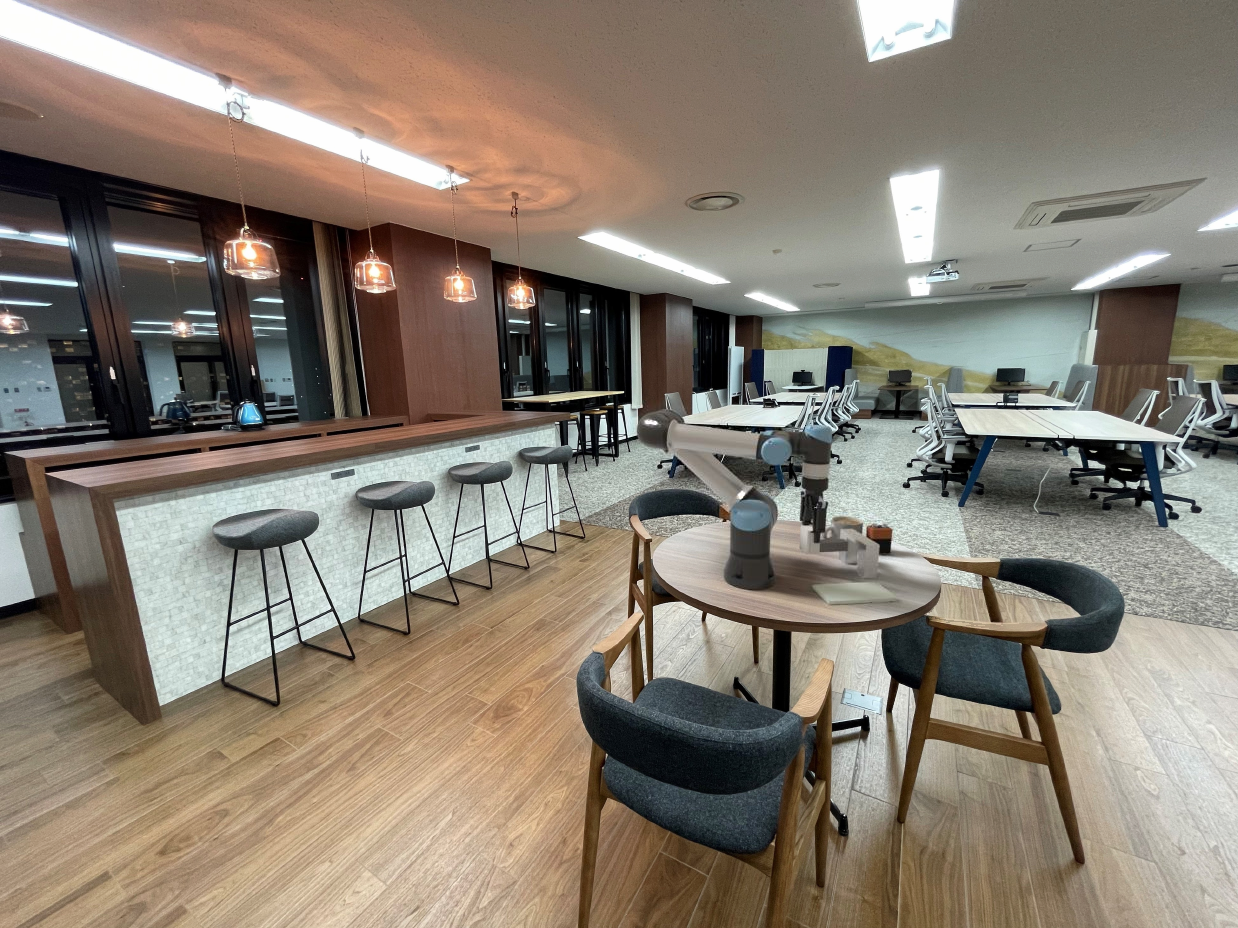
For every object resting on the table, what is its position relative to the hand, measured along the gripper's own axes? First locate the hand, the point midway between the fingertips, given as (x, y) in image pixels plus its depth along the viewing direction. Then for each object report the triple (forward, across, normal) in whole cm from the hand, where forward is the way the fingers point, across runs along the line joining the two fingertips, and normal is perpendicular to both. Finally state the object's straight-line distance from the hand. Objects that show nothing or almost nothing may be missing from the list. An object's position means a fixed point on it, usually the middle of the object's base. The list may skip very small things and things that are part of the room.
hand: (810, 548), depth 147 cm
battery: (+7, +12, -29) cm, 32 cm away
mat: (+7, -17, -5) cm, 19 cm away
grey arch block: (+7, 0, -15) cm, 17 cm away
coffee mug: (+7, +18, -19) cm, 27 cm away
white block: (+1, 0, -4) cm, 5 cm away
